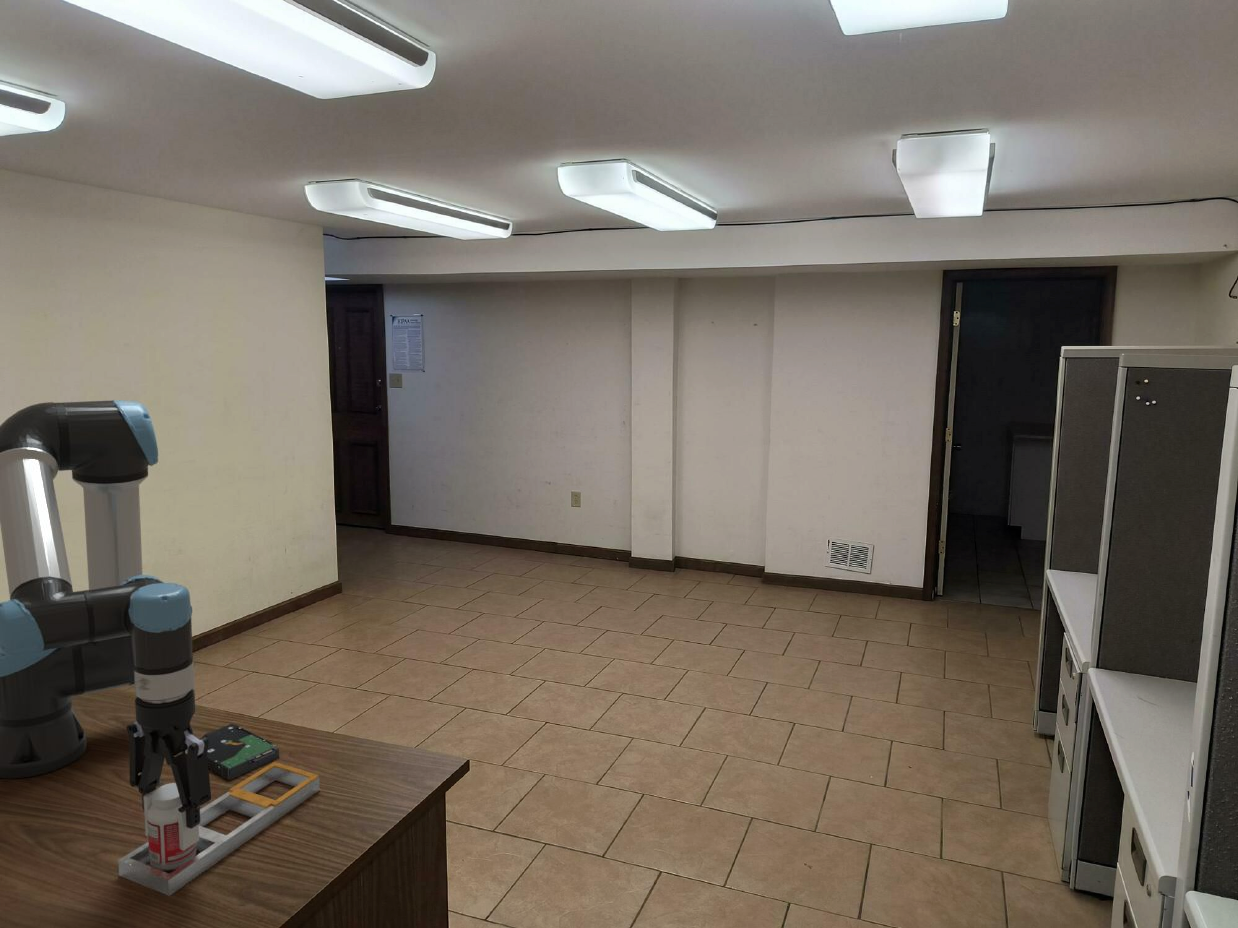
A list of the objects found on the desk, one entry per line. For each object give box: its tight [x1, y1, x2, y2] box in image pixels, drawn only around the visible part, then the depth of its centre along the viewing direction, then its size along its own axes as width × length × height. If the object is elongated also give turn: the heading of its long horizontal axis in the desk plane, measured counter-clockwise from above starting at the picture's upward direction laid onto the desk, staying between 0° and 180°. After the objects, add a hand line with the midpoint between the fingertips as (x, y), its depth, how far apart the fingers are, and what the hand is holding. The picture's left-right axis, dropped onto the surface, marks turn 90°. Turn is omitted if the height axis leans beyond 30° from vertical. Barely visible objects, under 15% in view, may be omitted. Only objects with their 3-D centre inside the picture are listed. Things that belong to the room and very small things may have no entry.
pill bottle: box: [147, 782, 197, 871], centre depth 124 cm, size 6×6×11 cm
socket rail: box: [118, 761, 320, 897], centre depth 134 cm, size 10×30×3 cm, turn 158°
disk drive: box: [198, 723, 280, 781], centre depth 156 cm, size 10×3×15 cm
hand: (172, 837), depth 125 cm, fingers closed on pill bottle, 6 cm apart
